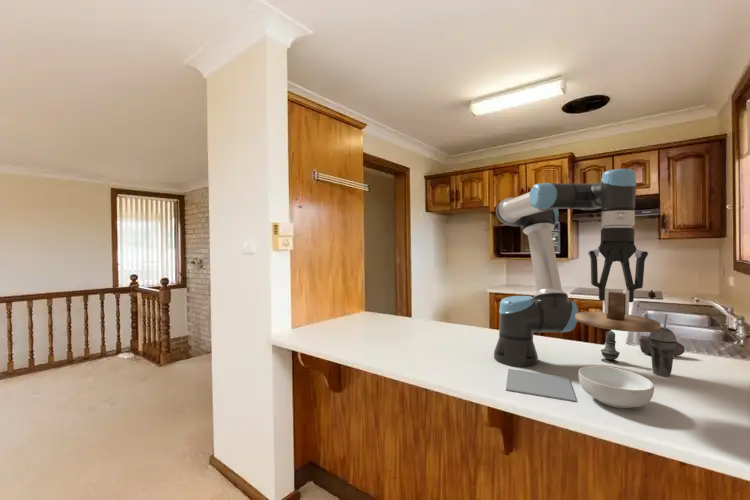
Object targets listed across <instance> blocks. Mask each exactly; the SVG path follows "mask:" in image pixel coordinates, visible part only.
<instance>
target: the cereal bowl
mask: <svg viewBox="0 0 750 500" xmlns="http://www.w3.org/2000/svg"><path fill="white" fill-rule="evenodd" d="M578 382H579V384H580V386H581V388H582V389H583V390H584V392H585V394H587V395H589V396H590V397H592V398H593V399H596V400H597V401H598V402H600V403H601V404H603V405H606V406H609V407H612V408H617V409H630V408H639V407H643V406H646V405H647V404H648V403H649V402H650V401H651V400H652V399H653V397H654V394H655V385H654V383H653V382H652V381H651V380H650V379H648V377H647V378H646V377H645V376H643V375H641V374H638V373H635V372H632V371H629V370H625V369H621V368H617V367H611V366H606V365H605V366H603V365H587V366H583V367H581V368H579V369H578Z"/></svg>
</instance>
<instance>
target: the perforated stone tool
mask: <svg viewBox="0 0 750 500" xmlns="http://www.w3.org/2000/svg"><path fill="white" fill-rule="evenodd" d="M649 336H650V335H641V336H640V338H639V339H638V340H639V341H638V342H639V346H640V347H639V348H640V350H641V352H642V353H643V354H647V355H651V345H650V341H649ZM685 350H686V349H685V346H684V345H683V344H682V343H680V342H678V341H677V343H676V347H675V349H674V356H673V357H678V356H681V355H683V354H684V353H685Z"/></svg>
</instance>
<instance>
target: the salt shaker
mask: <svg viewBox="0 0 750 500" xmlns="http://www.w3.org/2000/svg"><path fill="white" fill-rule="evenodd" d="M604 342H605V346H604V348H602V349H601V350H600V352H601V355H602V357H603V358H601V362H604V363H606V362H607V364H611V363H613V365H614V363H615V365H617V364H616V363H618V364H619V361H618V360H617V359H618V358H619V356H620V351H617V350H616V343H617V341H616V333H615V332H614V331H613V330H610V329H609V331H606V332H605V340H604Z"/></svg>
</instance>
